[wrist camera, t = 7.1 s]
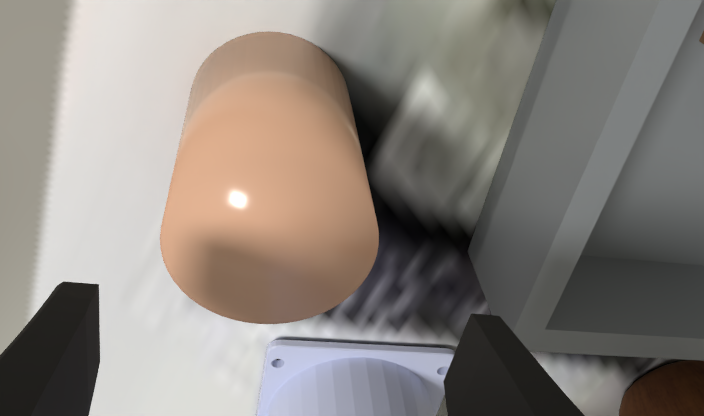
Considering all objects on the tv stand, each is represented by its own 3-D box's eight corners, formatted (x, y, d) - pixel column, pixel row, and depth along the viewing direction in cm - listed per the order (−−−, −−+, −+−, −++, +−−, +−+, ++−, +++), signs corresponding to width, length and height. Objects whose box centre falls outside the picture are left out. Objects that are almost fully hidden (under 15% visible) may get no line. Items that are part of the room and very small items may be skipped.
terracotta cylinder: (335, 181, 23) (357, 329, 17) (186, 167, 22) (157, 317, 16) (362, 44, 20) (399, 165, 15) (193, 20, 19) (162, 141, 14)
